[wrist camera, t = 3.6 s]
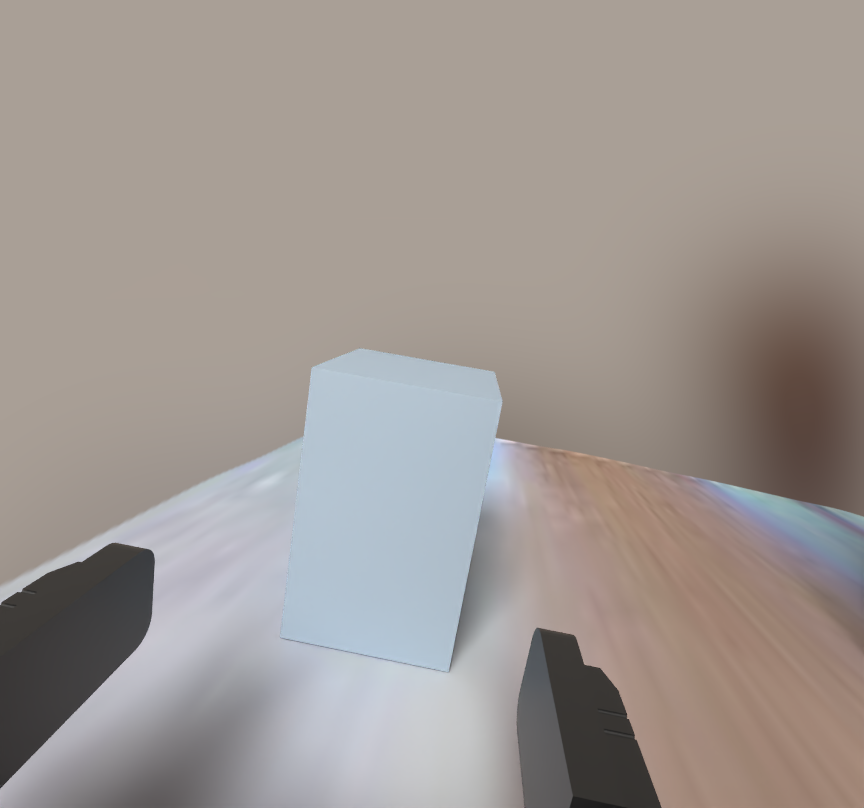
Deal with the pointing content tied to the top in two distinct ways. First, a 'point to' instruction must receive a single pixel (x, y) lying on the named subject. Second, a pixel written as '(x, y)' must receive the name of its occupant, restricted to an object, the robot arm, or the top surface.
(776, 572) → the top surface
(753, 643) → the top surface
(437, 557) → the tall pale blue box
